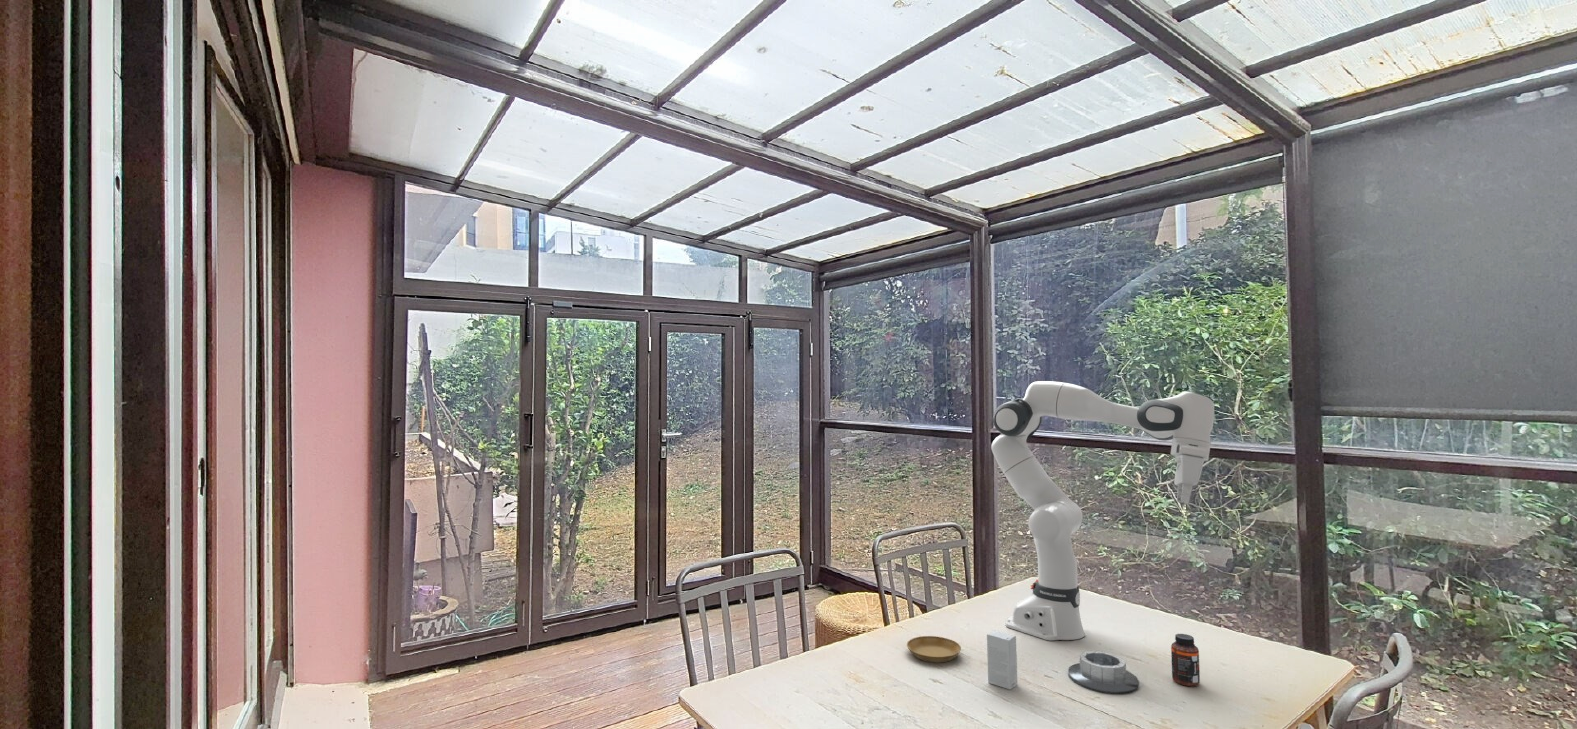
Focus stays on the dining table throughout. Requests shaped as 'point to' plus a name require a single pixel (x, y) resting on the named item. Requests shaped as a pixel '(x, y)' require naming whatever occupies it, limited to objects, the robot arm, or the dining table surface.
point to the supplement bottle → (1185, 661)
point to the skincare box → (1002, 659)
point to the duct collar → (1103, 673)
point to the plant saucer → (934, 648)
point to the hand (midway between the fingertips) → (1182, 502)
